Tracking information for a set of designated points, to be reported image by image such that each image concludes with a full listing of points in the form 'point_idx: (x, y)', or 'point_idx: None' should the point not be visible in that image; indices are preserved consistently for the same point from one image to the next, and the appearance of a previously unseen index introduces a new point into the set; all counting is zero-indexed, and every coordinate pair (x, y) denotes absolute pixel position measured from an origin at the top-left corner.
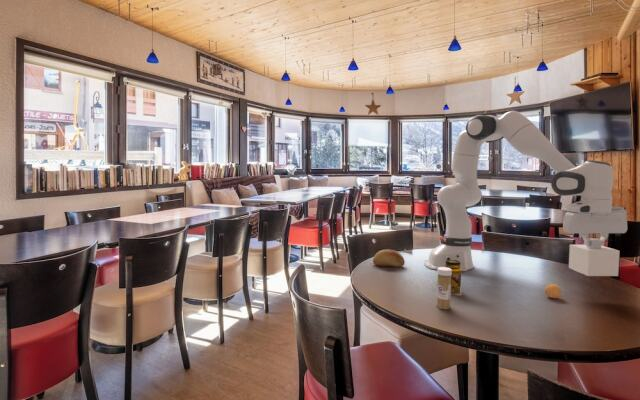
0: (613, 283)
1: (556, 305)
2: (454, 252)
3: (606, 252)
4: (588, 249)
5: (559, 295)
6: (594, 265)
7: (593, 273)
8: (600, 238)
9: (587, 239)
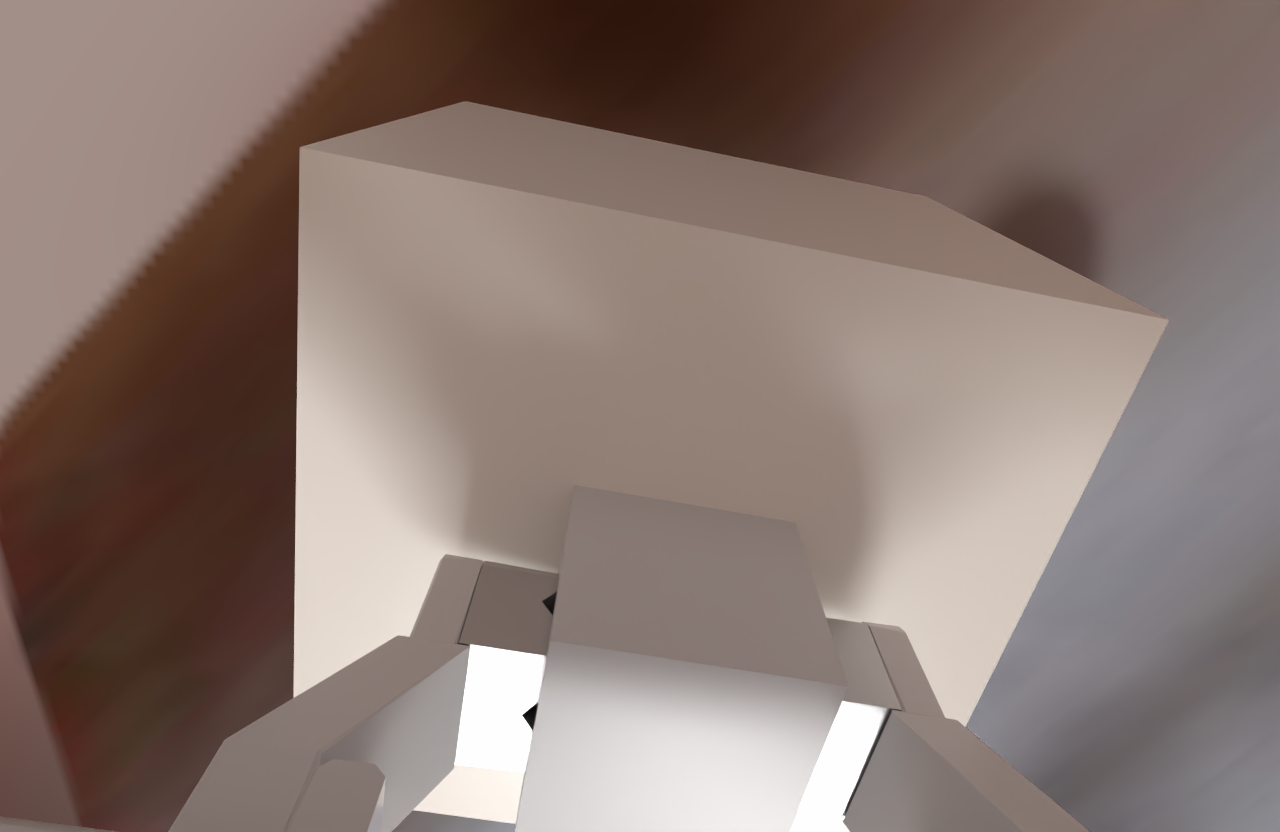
0: (91, 572)
1: (1164, 156)
2: None
3: (686, 213)
4: (1012, 448)
5: None
6: (882, 205)
7: (850, 185)
8: (411, 792)
9: (967, 755)
